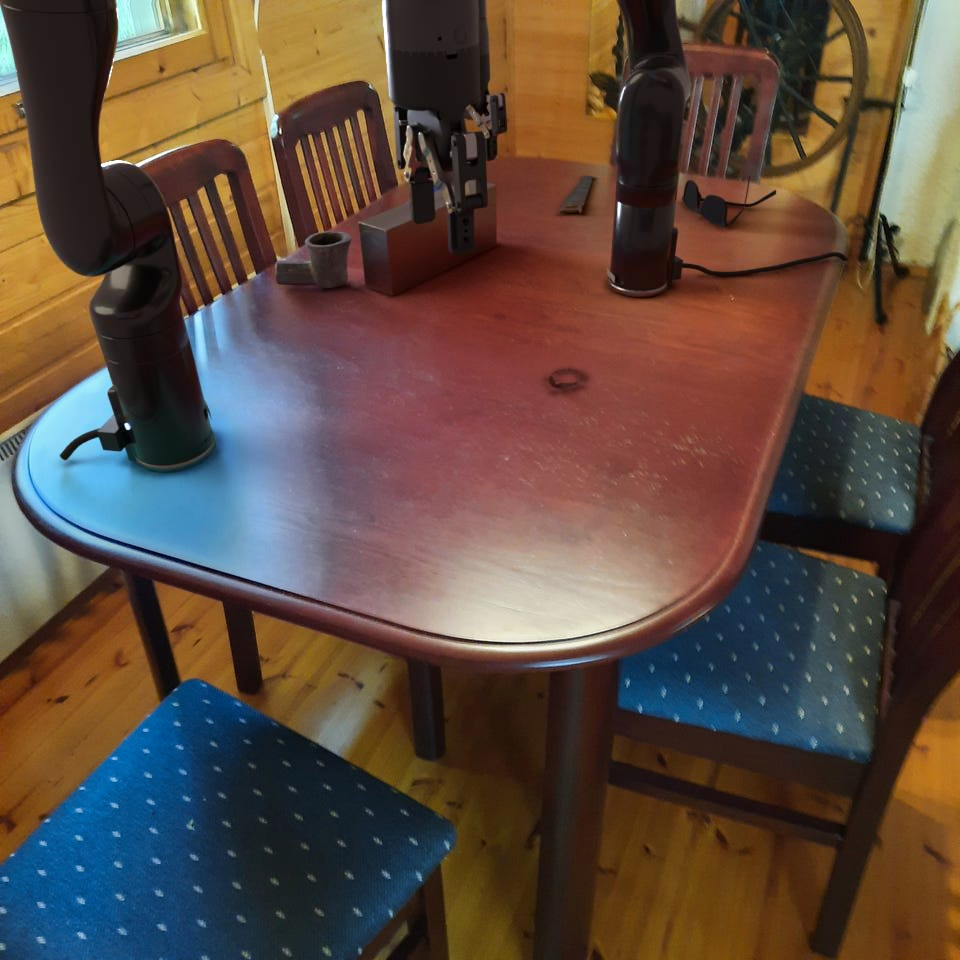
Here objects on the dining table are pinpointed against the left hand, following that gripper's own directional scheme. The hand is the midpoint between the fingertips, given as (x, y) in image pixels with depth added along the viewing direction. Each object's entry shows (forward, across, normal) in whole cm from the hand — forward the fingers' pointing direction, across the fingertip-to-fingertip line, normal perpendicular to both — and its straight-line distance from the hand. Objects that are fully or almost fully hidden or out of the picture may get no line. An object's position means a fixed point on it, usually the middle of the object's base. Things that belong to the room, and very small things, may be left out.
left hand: (442, 236), depth 78 cm
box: (+30, -60, +24) cm, 71 cm away
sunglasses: (+30, -56, +84) cm, 106 cm away
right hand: (+14, -65, +33) cm, 74 cm away
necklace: (+30, -16, +23) cm, 41 cm away
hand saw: (+30, -78, +64) cm, 106 cm away
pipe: (+30, -62, +3) cm, 68 cm away
